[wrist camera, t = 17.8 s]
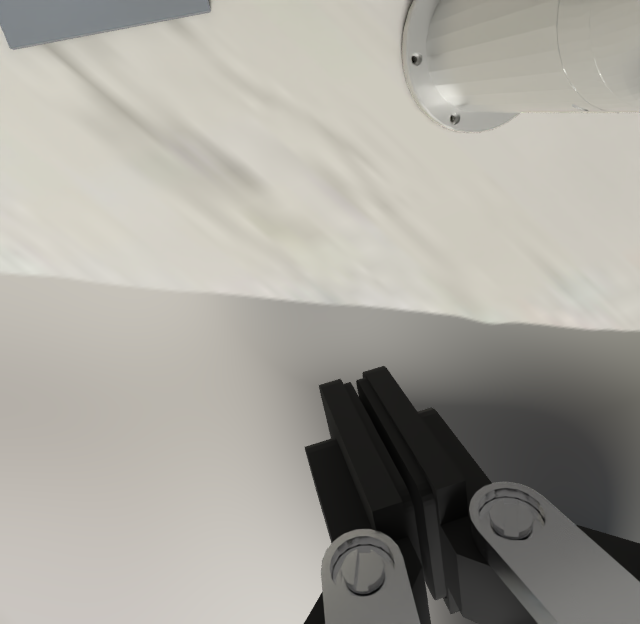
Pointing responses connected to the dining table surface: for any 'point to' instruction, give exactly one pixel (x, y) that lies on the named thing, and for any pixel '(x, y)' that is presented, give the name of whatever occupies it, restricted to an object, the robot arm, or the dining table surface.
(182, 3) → the mat
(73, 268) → the dining table surface
